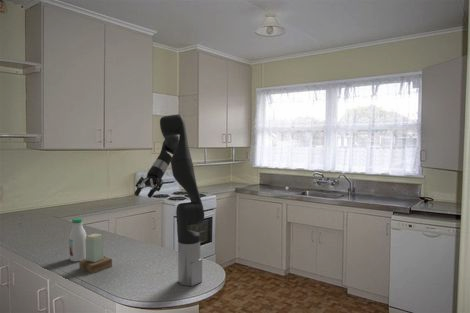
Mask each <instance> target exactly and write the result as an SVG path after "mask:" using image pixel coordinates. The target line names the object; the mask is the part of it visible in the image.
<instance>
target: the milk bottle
mask: <svg viewBox="0 0 470 313" xmlns="http://www.w3.org/2000/svg"><path fill="white" fill-rule="evenodd" d="M83 221H84V219H83V217H75V218H73V219H72V220H71V224H72V228H71V230H70V233H69V241H68V242H69V260H70V261H71V262H79V261H80V260H83V259H86V245H85V239H86V236H87V232H86V231H85V228H84V226H83V223H84V222H83Z"/></svg>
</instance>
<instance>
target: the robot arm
mask: <svg viewBox="0 0 470 313" xmlns="http://www.w3.org/2000/svg"><path fill="white" fill-rule="evenodd" d="M159 127H160V131H161V132H160V133H161V135H162V137H163V138H164V140H163V142H162V146H161V149H160V153H159V154H158V156H157V158H156V160H155V161H154V162H153V163H152V165H151V167H150V169H149V170H148V171H147V176H146V177H143V176H141V177H140V178H139V179H138V181H137V182H136V184H135V187H136V188H137V189H135V191H134V196H136V197H138V196H139V195H140V194H141V192H142V190H144V189H146V188H150V190H149V192H148V193H147V197H148V198H149V199H151V198H152V197H153V196H154V194H155V193H156V192H160V191H161V188H162V187H163V185H164V183H165V182H164V181H163V179H162V178H163V177H164V175H165V174H166V172H167V170H168V168H169V166H170V165H171V166H170V167H171V170H172V175H173V178H174V179H175V181H176V182H177V183H178V184H179V185H180V186H181V187H182V188H183V190H184V191H185V192H186V193H187V195H188V197H189V200H190V202H180V203H179V204H177V206H176V209H175V210H176V211H175V214H176V215H175V216H176V218H175V219H176V234H177V270H178V272H177V273H178V274H177V276H178V278H177V279H178V280H177V281H178V284H180V285H181V286H187V287H189V286H190V287H194V286H196V285H198V284H199V283H202V282H203V259H202V258H201V234H200V233H199V232H197V231H194V230H191V229H188V226H191V225H192V226H194V225H199V224H200V225H201V224H202V223H203V222H204V221H205V209H204V206H203V201H202V199H201V194H200V191H199V188H198V185H197V180H196V176H195V168H194V162H193V160H192V159H193V158H192V156H191V152H190V148H189V142H188V134H187V129H186V122H185V119H184V117H183V115H182V114H181V113H180V114H179V113H177V114H170V115H164V116H162V117H160V119H159Z"/></svg>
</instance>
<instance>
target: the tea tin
mask: <svg viewBox="0 0 470 313" xmlns="http://www.w3.org/2000/svg"><path fill="white" fill-rule="evenodd" d="M85 245H86V261H91V262H96V261H99V260H102V259H104V254H105V253H104V251H105V250H104V248H105V247H104V246H105V245H104V236H103V234H101V233H92V234H88V235H86V239H85Z"/></svg>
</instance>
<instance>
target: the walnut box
mask: <svg viewBox="0 0 470 313" xmlns="http://www.w3.org/2000/svg"><path fill="white" fill-rule="evenodd" d="M78 262H79V269H80V270H82V271H85V272H87V273H89V274H92V275H93V274H95V273H96V274H97V273H98V272H100V271H104V270H106V269H109V268H112V267H113V259H112V258H110V257H107V256H104V259H102V260H99V261H96V262H91V261H86V259H83V260H80V261H78Z"/></svg>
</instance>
